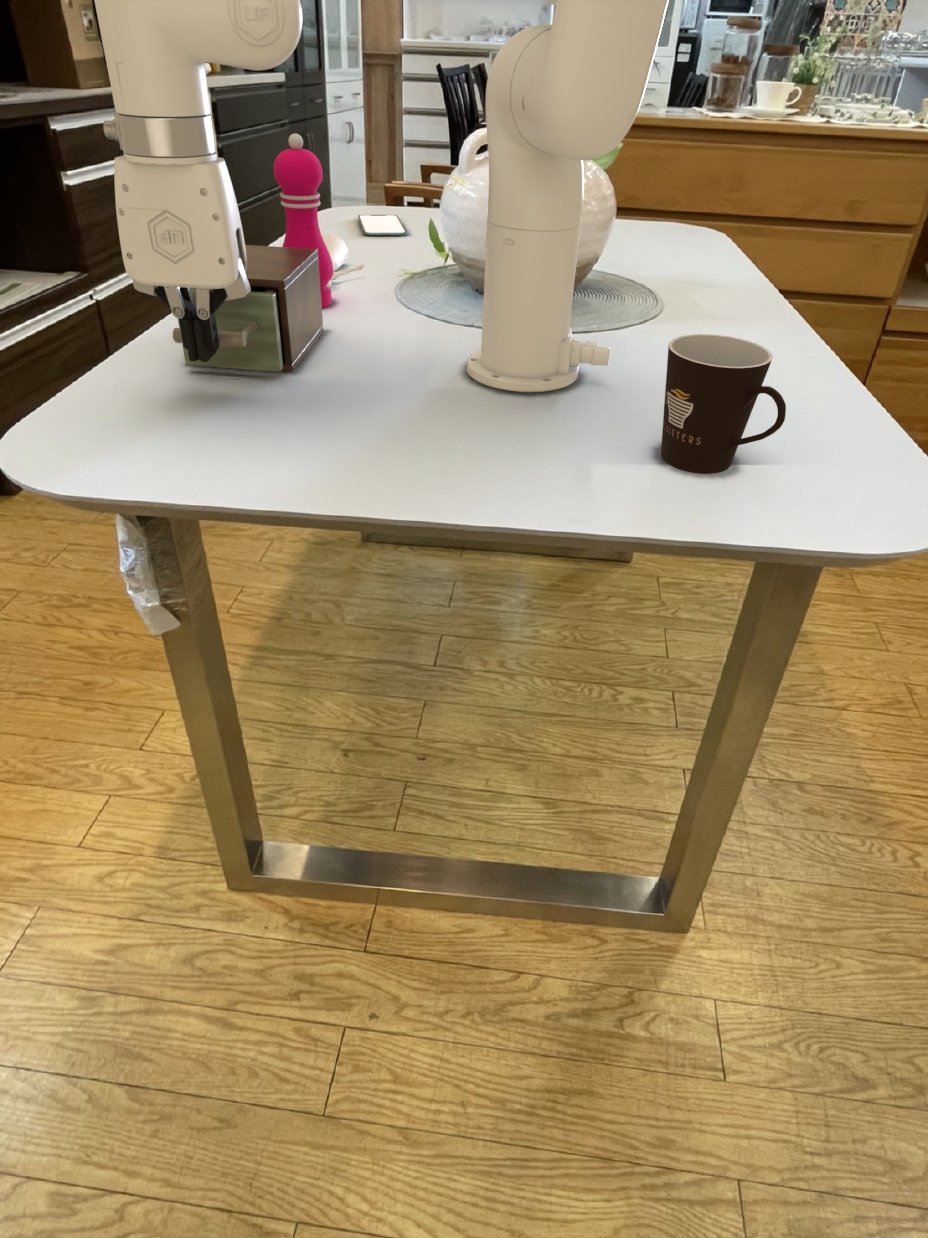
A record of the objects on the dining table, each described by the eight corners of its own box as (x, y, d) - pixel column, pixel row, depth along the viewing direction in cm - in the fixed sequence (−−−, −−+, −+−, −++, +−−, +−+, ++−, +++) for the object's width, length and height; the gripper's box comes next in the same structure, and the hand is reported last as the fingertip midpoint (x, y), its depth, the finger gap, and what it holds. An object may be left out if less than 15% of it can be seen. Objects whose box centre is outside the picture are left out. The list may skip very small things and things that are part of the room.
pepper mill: (325, 312, 106) (313, 138, 94) (273, 308, 107) (255, 134, 95) (342, 298, 112) (333, 132, 100) (293, 294, 113) (278, 128, 101)
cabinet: (292, 371, 88) (284, 280, 83) (190, 365, 89) (174, 273, 83) (323, 331, 100) (317, 248, 94) (232, 325, 101) (221, 243, 95)
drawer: (265, 391, 81) (255, 312, 77) (165, 384, 82) (149, 305, 77) (311, 332, 97) (305, 264, 92) (226, 327, 97) (217, 259, 93)
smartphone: (407, 236, 146) (397, 217, 158) (407, 233, 145) (397, 214, 158) (364, 236, 144) (357, 217, 157) (364, 233, 144) (357, 214, 156)
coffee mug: (638, 439, 77) (656, 333, 71) (724, 438, 78) (750, 334, 72) (673, 496, 68) (698, 381, 62) (771, 495, 69) (804, 381, 63)
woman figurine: (365, 230, 127) (361, 267, 113) (366, 260, 129) (363, 299, 116) (291, 229, 126) (278, 265, 112) (294, 258, 129) (281, 298, 115)
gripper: (60, 140, 65) (112, 365, 76) (242, 149, 64) (268, 375, 75) (101, 130, 71) (144, 340, 82) (268, 138, 70) (288, 349, 81)
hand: (203, 356), depth 78 cm, fingers closed
